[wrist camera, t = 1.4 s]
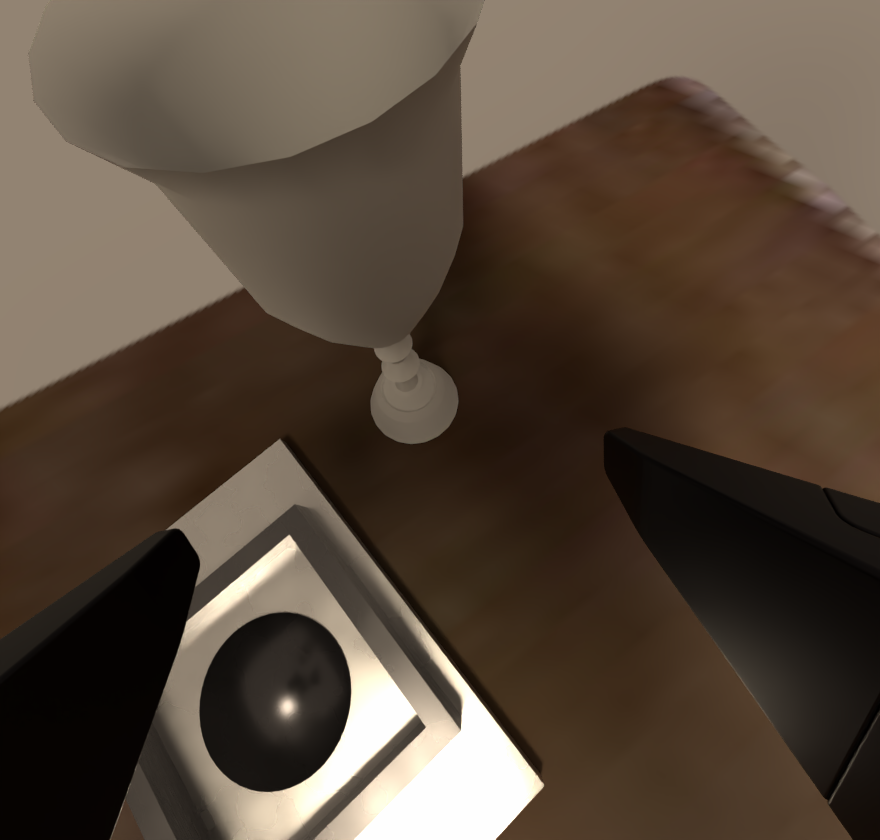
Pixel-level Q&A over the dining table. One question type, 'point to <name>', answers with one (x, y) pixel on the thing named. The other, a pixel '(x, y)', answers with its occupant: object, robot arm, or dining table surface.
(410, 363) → the chalice
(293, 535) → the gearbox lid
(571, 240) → the dining table surface
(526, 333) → the dining table surface
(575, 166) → the dining table surface
